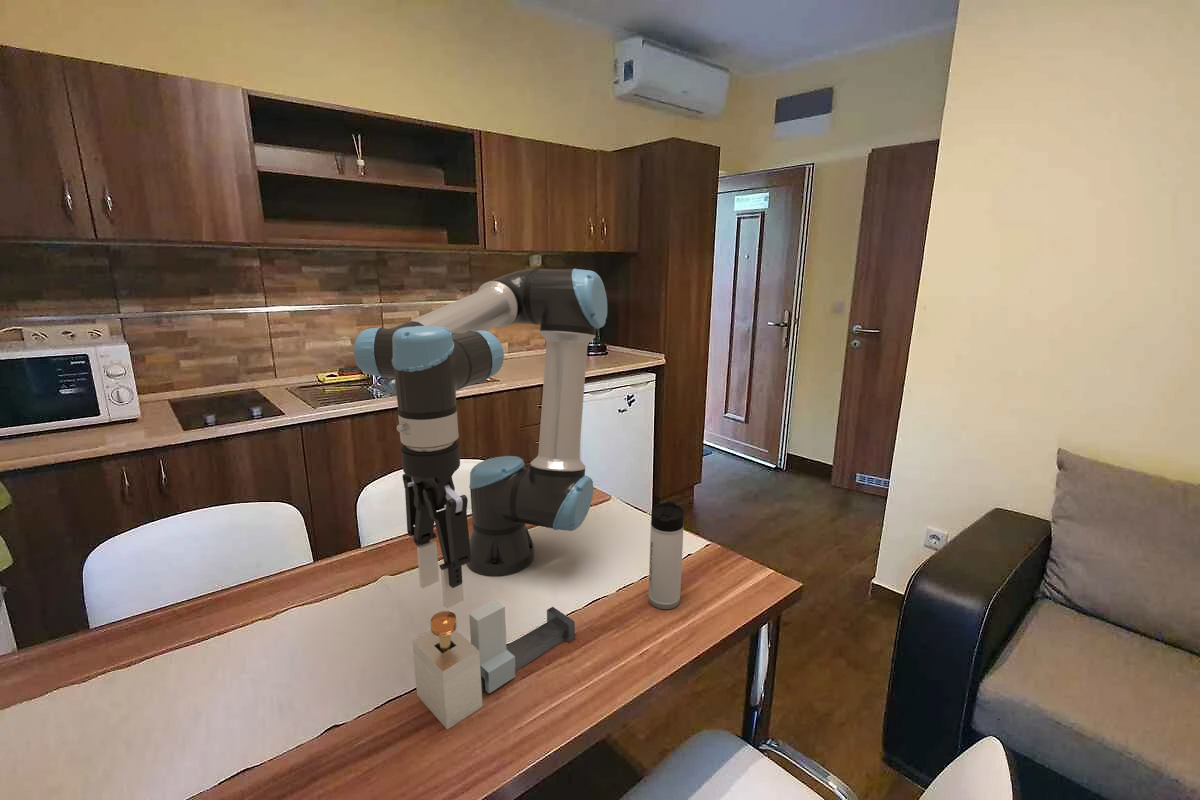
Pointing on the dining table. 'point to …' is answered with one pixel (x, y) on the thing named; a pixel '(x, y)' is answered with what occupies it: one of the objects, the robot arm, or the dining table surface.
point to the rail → (474, 666)
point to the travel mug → (666, 555)
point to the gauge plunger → (443, 628)
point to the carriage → (492, 645)
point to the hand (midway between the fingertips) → (441, 593)
